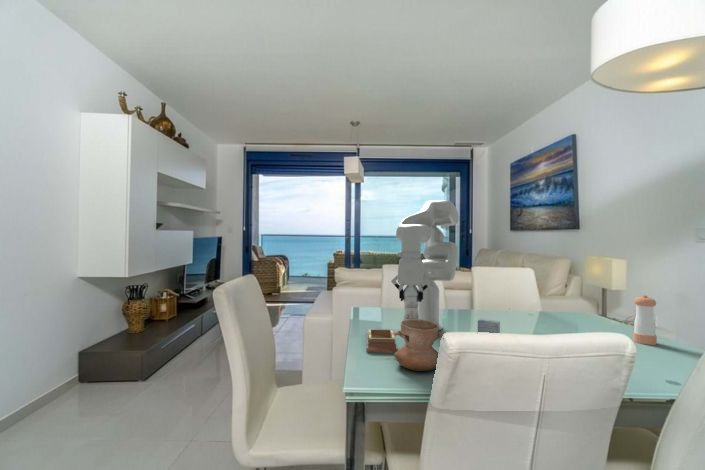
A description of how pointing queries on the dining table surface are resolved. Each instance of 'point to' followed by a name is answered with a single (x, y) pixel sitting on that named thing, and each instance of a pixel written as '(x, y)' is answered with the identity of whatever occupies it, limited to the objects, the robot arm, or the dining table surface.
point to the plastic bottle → (411, 302)
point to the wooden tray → (380, 346)
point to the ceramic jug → (418, 344)
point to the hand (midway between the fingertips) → (411, 300)
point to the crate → (381, 336)
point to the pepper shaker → (644, 321)
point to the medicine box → (488, 326)
